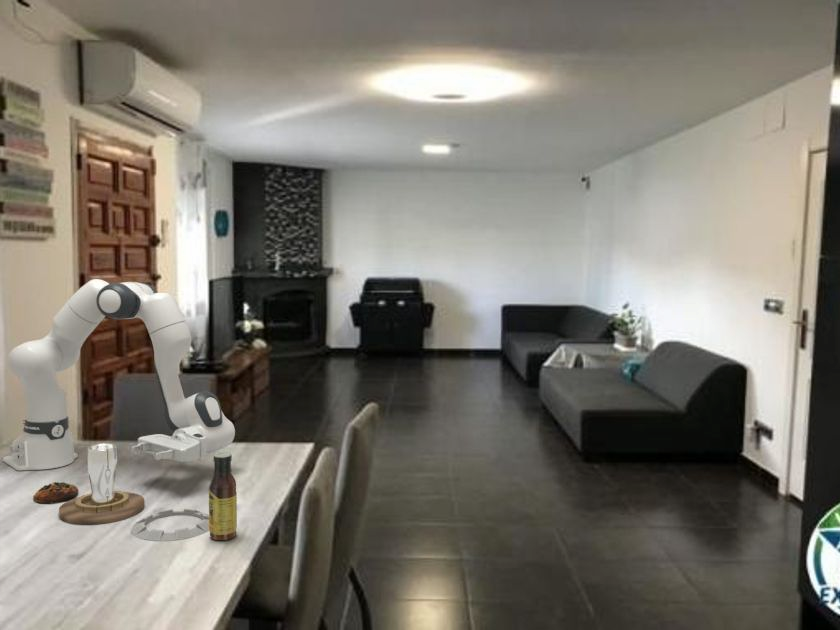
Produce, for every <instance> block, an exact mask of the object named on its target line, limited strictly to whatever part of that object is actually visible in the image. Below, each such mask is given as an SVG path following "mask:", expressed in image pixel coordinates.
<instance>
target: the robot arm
mask: <svg viewBox="0 0 840 630" xmlns="http://www.w3.org/2000/svg"><path fill="white" fill-rule="evenodd" d="M106 317H107V318H109V319H113V320H131V319H132V320H133V319H141V321H142V322H143V323H144V324H145V327H146V329H147V332H148V334H149V338H150V339H151V342H152V347H153V352H154V353H153V355H154V357H153V366H154V370H155V375H156V379H157V382H158V385H159V390H160V393H161V397H162V400H163V404H164V419H165V422H166V425H167V426H168V428H169V429H170V430H171V431H172V432H173V433H172V435H171V436H170V435H166V434H163V433H161V434H160V433H158V434H157V433H156V434H149V435H143V436H140V437H138V438H137V445H134V446H132V447H131V453H132V454H141V452H145V453H148V454H152V457H153V458H152V459H153V460H157V461H159V460H168V459H169V460H173V461H176V462H179V463H189V462H193V461H203V460H206V459H207V454H211V453H214V452H218V451H221V450H223V449H225V448H227V447H229V446H230V445H231V444H232V443H233V441H234V439H235V436H236V435H235V434H236V430H235V426H234V424H233V422H232V421H231V420H229V419H228V418H227V417H226V416H225V414H224V412H223V411H222V407H221V403H220V400H219V399H218V397H217V396H216V395H215V394H214V393H212V392H211V391H208V390H202V391H200V392H198V393H197V392H196V393H195V394H192V395H191V396H188V397H185V395H184V391H183V388H182V384H181V380H180V376H179V367H180V364H181V362H182V361H183V358H184V357H185V355H186V354H187V352H188V351H189V349H190V347H191V345H192V334H191V331H190V328H189V325H188V323H187V320H186V317H185V316H184V314H183V312H182V310H181V308H180V306H179V304H178V303H177V301H176V300H175V298H174V297H173V296H172V295H171V294H170V293H168V292H158V291H157V289H155V288H154V286H152V285H150V284H149V283H146V282H135V281H125V282H113V283H109V282H108V281H105V280H104V279H99V278H92V279H90V280H89V281H87V282H86V283H85V284H83V285H82V286H81V287H80V288H78V290H77V291H75V293H74V294H73V295H72V296H71V297H70V298H69V299H68V300H67V301H66V302H65V304H64V305H63V306H62V307H61V308H60V309H59V311H58V312H57V313H56V314H55V316H53V318H52V327H51V329H50V330H49V331H50V332H49V333H48V334H47V335H45V336H44V337H43V338H40V339H35V340H29V341H25V342H23V343H21V344H19V345H17V346H15V347H14V348H12V349H11V351H10V352H9V354H8V357H7V365H8V368H9V369H10V371H11V372H12V374H14V375H15V376H16V377H17V378H18V379H19V381H20V384H21V386H22V389H23V392H24V397H25V407H26V409H25V411H26V419H24V420H22V422H23V423H22V424H23V429H22V432H21V433H20V435H18V437H16V438H15V439H14V440H13V441H12V442H11V445H10V447H9V450H10V453H11V454H8V455H7V456H4V457H3V458H2V461H3V462H4V463H5V464H7V465H9V467H11V468H12V469H14V470H16V471H30V470H31V471H35V470H36V471H37V470H49V469H50V470H51V469H56V468H61V467H64V466H65V467H66V466H68V465H70V464H72V463H73V462H75V459H77V458H78V453H76V452H75V450H74V442H73V433H72V432H71V431H70V430H69V427H70V425H69V424H70V421H69V416H67V415H68V408H67V392H66V391H65V389H63V388H62V387H61V386H60V383H59V381H58V379H57V373H58V372H59V373H60V372H62V371H66V370H68V369H70V367H72V366H75V364H76V363H77V362H78V360H79V359H80V356H81V348H82V346H83V344H84V343H85V341H86V340H87V338H88V337H89V336H90V335H91V334H92V333H93V332H94V330H95V329H96V328H97V327H98V325H99V324H100V323H101V322H102V321H103V320H104V319H105V318H106Z"/></svg>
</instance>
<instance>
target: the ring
mask: <svg viewBox="0 0 840 630" xmlns="http://www.w3.org/2000/svg"><path fill="white" fill-rule="evenodd" d="M174 516H188V517H189V516H190V517H195V518H198V519H200V522H198V523H196V525H195V527H193V528H190V529H189V527H183V528H177V529H175V530H174V532H165V531H164V529H155V528H152V529H150V530H149V529H147V525H148V524H149V523H151V522H153V521H155V520H156V521H157V520H158V519H161V518H167V517H174ZM130 530H131V531H130V532H131V534H132V536H134V537H135V538H137V539H141V540H145V541H148V542H149V541H150V542H175V541H182V540H187V539H191V538H195V537H197V536H201V535H203V534H205V533H207V532H210V531H209V513H206V512H202V511H199V510H196V509H192V508H184V509H183V510H174V509H173V508H171V509H166V510H165V509H163V510H160V511H159V512H158V513H156V514H148V515H147V516H145V517H143V518H141V519H139V520H138V521H136V522H135V523H134V524H133V525H132V526H131V528H130Z"/></svg>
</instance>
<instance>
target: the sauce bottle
mask: <svg viewBox="0 0 840 630" xmlns="http://www.w3.org/2000/svg"><path fill="white" fill-rule="evenodd" d="M232 459H233V458H232V453H231V452H225V451H222V452H216V453H214V455H213V463H214V467H213V470H214V471H213V476H212V478H211V481H210V484H209V487H208V514H209V531H208V532H209V536H210V538H211V539H212V540H214V541H228V540H231V539H233V538H234V537H235V536H236V535H237V525H238V524H237V523H238V522H237V521H238V520H237V519H238V517H237V515H238V513H237V507H238V506H237V505H238V504H237V503H238V502H237V501H238V500H237V498H238V497H237V492H238V491H237V481H236V479H235V477H234V475H233V474H232Z"/></svg>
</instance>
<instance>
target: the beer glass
mask: <svg viewBox="0 0 840 630" xmlns="http://www.w3.org/2000/svg"><path fill="white" fill-rule="evenodd" d="M86 462H87V474H88V479H89V483H90V488H91V493H92V495H91V501H90V505H91V506H100V505H108V504H112V503H115V502H116V498H115V494H114V491H115V484H116V477H117V471H118V453H117V445H116V444H114V443H98V444H97V443H95V444H91V445H90V446H88V448H87V461H86Z"/></svg>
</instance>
